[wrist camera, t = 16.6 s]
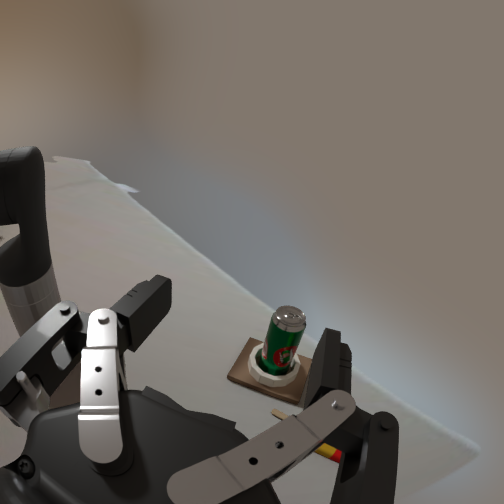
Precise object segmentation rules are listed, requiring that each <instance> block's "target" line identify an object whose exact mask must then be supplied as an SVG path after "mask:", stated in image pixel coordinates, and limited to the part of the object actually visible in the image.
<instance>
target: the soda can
mask: <svg viewBox="0 0 504 504" xmlns="http://www.w3.org/2000/svg"><path fill="white" fill-rule="evenodd" d="M305 319H306V317H305V315H304V313H303V312H302V311H301V310H300V309H298V308H295V307H293V306H281V307H279V308H278V309H277V310H276V312H275V313H273V315H272V317H271V321H270V325H269V328H268V332H267V335H266V338H265V342H264V345H263V349H262V352H261V356H260V359H259V362H258V367H259V368H260V369H261V370H262V371H263V372H265V373H267V374H270V375H273V376H284V375H285V374H286V373H287V371H288V369H289V367H290V364H291V362H292V360H293V357H294V355H295V352H296V350H297V348H298V345H299V343H300V340H301V338H302V335H303V333H304V330H305V328H306V321H305Z"/></svg>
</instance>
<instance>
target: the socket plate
mask: <svg viewBox="0 0 504 504" xmlns="http://www.w3.org/2000/svg"><path fill="white" fill-rule="evenodd" d="M263 345H264V342H262V341H259V340H256V339H254V338H251V337H250V338H249V340H248V342H247V343H246V345H245V347H244V348H243V350H242V352H241V353H240V355H239V357H238V358H237V360H236V362H235V363H234V365H233V367H232V368H231V370H230V372H229V373H228V375H227V379H230V380H232V381H234V382H237V383H239V384H242V385H244V386H247V387H249V388H252V389H254V390H257V391H260V392H262V393H265V394H268V395H270V396H273V397H276V398H279V399H282V400H285V401H288V402H291V403H294V404H297V405H298V403H299V401H300V398H301V395H302V392H303V388H304V385H305V382H306V379H307V375H308V372H309V369H310V365H311V362H312V359H310V358H307V357H304V356H301V355H298V354H296V353H295V355H294V357H293V360H292V362H291V364H290V367H289V369H288V371H287V373H286V374H285V375H284V376H273V375H270V374H267V373H265V372H263V371H262V370H261V369H260V368H259V367H258V362H259V359H260V356H261V352H262V349H263Z"/></svg>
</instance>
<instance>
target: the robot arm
mask: <svg viewBox="0 0 504 504" xmlns="http://www.w3.org/2000/svg"><path fill="white" fill-rule="evenodd" d="M10 224H19V227H20V234H18V235H17V236H16V237H14V238H12V239H10V240H9V241H7V242H6V243H4V244H3V245H2V246H1V247H0V288H1V291H2V294H3V297H4V299H5V302H6V305H7V307H8V310H9V312H10V315H11V317H12V320H13V322H14V324H15V327H16V329H17V331H18V333H19V336H20V338H19V339H18V340H17V341H16V342H15V343H14V344H13V345H12V346H11V347H10V348H9V349H8V350H7V351H6V352H5V353H4V354H3V355H2V356H1V357H0V410H1V411H2V412H3V414H4V415H5V416H6V417H8V418H9V419H10V420H11V421H12V422H13V424H15V425H16V426H18V427H22V428H23V429H24V430H25V431H26V432H27V433H28V434H27V440H26V444H25V447H24V450H23V452H22V454H21V456H20V457H19V458H18V459H17V460H15V461H14V462H12V463H10V464H8V465H6V466H3V467H1V468H0V504H281V503H280V501H279V499H278V497H277V495H276V493H275V491H274V489H273V487H272V484H271V483H272V482H274V481H275V480H277V479H278V478H280V477H281V476H283V475H284V474H285V473H287V472H288V471H290V470H291V469H292V468H293V467H295V466H296V465H297V464H298V463H300V462H301V461H302V460H304V459H305V458H306V457H308V456H309V455H310V454H312V453H313V452H314V451H316V450H317V449H318V448H319V447H321V446H322V445H323V444H324V443H326V444H328V445H330V446H332V447H334V448H336V449H338V450H340V451H342V452H341V458H340V463H339V468H338V472H337V477H336V481H335V486H334V490H333V494H332V498H331V502H330V504H394V496H395V487H396V477H397V464H398V444H399V424H398V421H397V419H396V418H395V417H394V416H393V415H392V414H390V413H388V412H383V411H382V412H377V413H375V414H374V415H371V414H369V413H367V412H365V411H363V410H361V409H360V408H358V407H357V406H356V403H355V400H354V398H353V397H352V396H351V368H352V363H351V361H352V355H351V354H352V353H351V350H350V348H349V346H348V345H347V344H345V343H341V333H340V331H336V330H332V329H328V328H325V330H324V332H323V335H322V337H321V339H320V341H319V343H318V345H317V348H316V350H315V352H314V355H313V359H312V364H311V370H310V376H309V382H308V388H307V393H306V399H305V404H304V409H303V411H302V412H301V413H299V414H298V415H296V416H295V415H291V416H289V417H287V418H285V419H284V420H282V421H281V422H279V423H277V424H276V425H274V426H273V427H271V428H269V429H268V430H266V431H264V432H263V433H261V434H259V435H257V436H256V437H254V438H252V439H250V440H248V438H247V437H245V436H244V435H243V434H242V433H241V432H239V431H238V430H236V429H235V425H236V422H233V421H230V420H227V419H224V418H222V417H219V416H216V415H213V414H207V413H201V412H195V411H189V410H186V409H184V408H183V407H182V406H180V405H179V404H178V403H176V402H175V401H173V400H172V399H171V398H170V397H168V396H167V395H165V394H163V393H160V392H158V391H156V390H154V389H152V388H150V387H148V386H146V387H145V389H144V390H143V391H140V390H128V388H127V382H126V371H125V358H124V352H125V351H126V349H129V350H131V351H133V352H135V351H136V350H137V349H138V348H139V346H140V345H141V344H142V343H143V342H144V340H145V339H146V338H147V337H148V336H149V335H150V333H151V332H152V331H153V330H154V329H155V328H156V326H157V325H158V324H159V323H160V322H161V321H162V319H163V318H164V317H165V316H166V315H167V313H168V312H169V310H170V308H171V303H172V281H171V279H169V278H166V277H163V276H161V275H156V276H155V277H153V278H152V279H151V280H150V281H147V280H146V281H143V282H141V283H139V284H137V285H136V286H135V287H134V288H132V290H130V291H129V292H128V293H127V295H124V296H123V297H122V298H121V299H120V300H119V301H118V302H117V303H115V304H114V305H113V306H112V307H111V308H110V309H104V308H103V309H98V310H96V311H94V312H93V313H92V314H89V313H85V312H80V311H78V307H77V305H76V304H75V303H74V302H72V301H62V302H61V298H60V295H59V291H58V287H57V282H56V278H55V274H54V269H53V265H52V260H51V254H50V248H49V238H48V229H47V221H46V207H45V170H44V161H43V157H42V154H41V152H40V150H39V149H38V148H37V147H34V146H27V147H21V148H14V149H8V150H3V151H0V226H2V225H10ZM81 358H82V363H81V395H80V402H79V403H75V404H71V405H67V406H63V407H59V408H55V409H50V410H49V408H48V407H49V404H50V398H49V397H50V396H51V395H52V394H53V392H54V391H55V390H56V389H57V387H58V386H59V385H60V384H61V382H62V381H63V380H64V379H65V378H66V376H67V375H68V374H69V373H70V371H71V370H72V369H73V368H74V367H75V366H76V364H77V363H78V362H79V361H80V360H81Z"/></svg>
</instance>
